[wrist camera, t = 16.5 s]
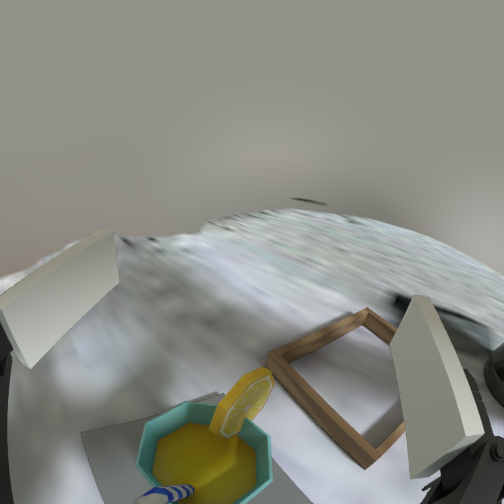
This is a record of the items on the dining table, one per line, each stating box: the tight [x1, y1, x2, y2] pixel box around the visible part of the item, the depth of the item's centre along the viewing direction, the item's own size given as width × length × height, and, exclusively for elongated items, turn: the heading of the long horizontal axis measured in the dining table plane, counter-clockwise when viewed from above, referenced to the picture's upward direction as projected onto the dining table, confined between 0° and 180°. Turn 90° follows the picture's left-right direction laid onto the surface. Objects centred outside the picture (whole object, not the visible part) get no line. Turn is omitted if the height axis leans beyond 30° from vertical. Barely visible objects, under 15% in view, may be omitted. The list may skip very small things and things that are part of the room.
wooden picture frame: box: [265, 308, 405, 469], centre depth 31 cm, size 20×18×2 cm
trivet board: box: [81, 393, 313, 504], centre depth 16 cm, size 16×20×1 cm
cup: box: [133, 366, 274, 504], centre depth 12 cm, size 14×8×15 cm, turn 158°
